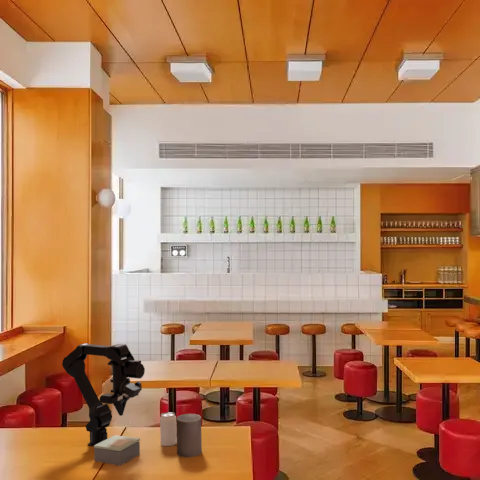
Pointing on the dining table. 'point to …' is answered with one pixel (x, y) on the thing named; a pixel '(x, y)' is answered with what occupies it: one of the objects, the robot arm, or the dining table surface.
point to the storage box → (117, 454)
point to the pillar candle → (189, 435)
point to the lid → (117, 443)
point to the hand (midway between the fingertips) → (121, 415)
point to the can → (168, 429)
